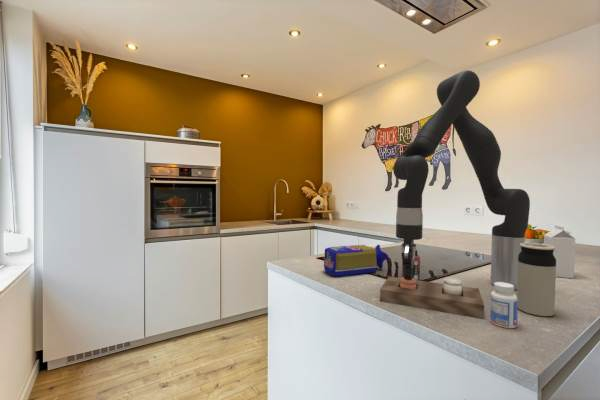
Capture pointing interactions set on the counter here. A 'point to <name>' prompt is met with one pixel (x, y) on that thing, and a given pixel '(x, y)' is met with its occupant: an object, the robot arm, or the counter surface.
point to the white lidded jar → (452, 286)
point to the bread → (353, 260)
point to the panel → (433, 297)
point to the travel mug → (536, 279)
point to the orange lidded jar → (408, 283)
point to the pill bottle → (504, 305)
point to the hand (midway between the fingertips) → (408, 279)
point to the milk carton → (562, 250)
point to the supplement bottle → (414, 267)
